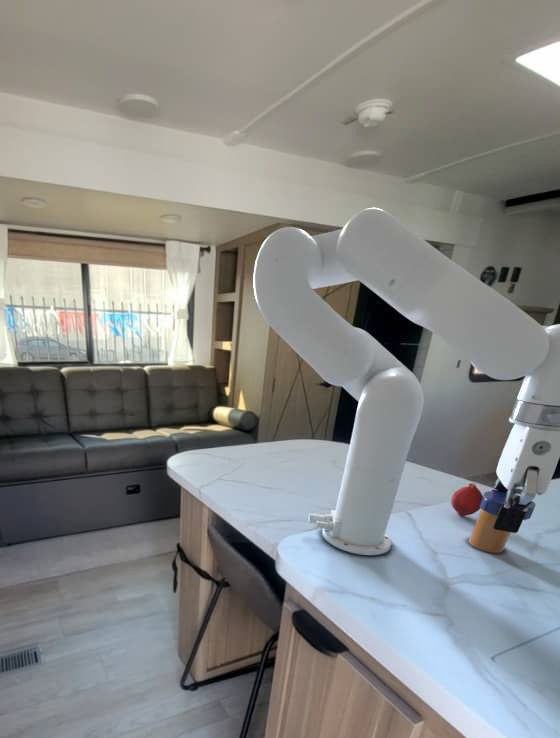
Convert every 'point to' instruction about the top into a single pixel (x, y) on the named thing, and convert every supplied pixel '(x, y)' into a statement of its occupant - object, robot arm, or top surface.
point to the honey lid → (500, 503)
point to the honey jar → (488, 534)
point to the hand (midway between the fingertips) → (500, 520)
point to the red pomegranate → (467, 500)
